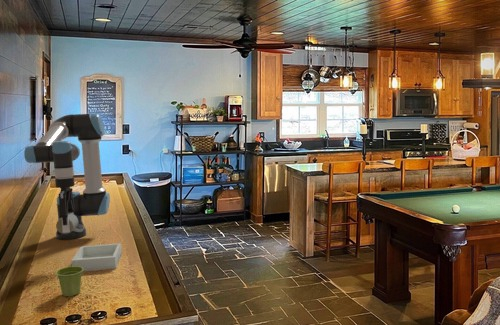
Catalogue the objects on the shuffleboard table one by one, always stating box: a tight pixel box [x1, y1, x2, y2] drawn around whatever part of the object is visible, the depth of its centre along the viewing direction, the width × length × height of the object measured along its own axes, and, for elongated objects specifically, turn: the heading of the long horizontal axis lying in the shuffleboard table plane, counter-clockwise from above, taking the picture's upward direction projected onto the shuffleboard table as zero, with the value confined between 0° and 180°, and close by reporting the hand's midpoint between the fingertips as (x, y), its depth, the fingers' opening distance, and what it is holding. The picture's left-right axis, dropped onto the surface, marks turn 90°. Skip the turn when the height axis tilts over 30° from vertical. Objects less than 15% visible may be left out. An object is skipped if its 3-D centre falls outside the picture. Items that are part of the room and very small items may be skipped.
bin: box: [71, 243, 122, 273], centre depth 202 cm, size 20×17×5 cm
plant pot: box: [55, 265, 84, 297], centre depth 168 cm, size 9×9×9 cm
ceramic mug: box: [55, 213, 85, 234], centre depth 200 cm, size 11×8×8 cm
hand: (68, 229), depth 200 cm, fingers closed on ceramic mug, 8 cm apart
